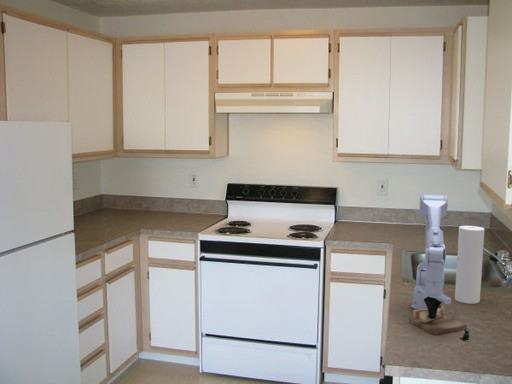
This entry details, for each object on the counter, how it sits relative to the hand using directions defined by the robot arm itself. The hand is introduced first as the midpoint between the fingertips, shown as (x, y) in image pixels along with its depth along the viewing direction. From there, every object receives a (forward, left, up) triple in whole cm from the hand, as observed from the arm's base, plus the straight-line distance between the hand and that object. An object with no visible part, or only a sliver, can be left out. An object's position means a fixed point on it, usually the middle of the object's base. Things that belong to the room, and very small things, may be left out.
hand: (432, 318), depth 193 cm
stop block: (-6, -1, -1) cm, 6 cm away
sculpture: (+13, +2, -4) cm, 14 cm away
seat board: (0, +2, -3) cm, 4 cm away
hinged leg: (-2, +2, -1) cm, 4 cm away
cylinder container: (-17, +34, -3) cm, 38 cm away
